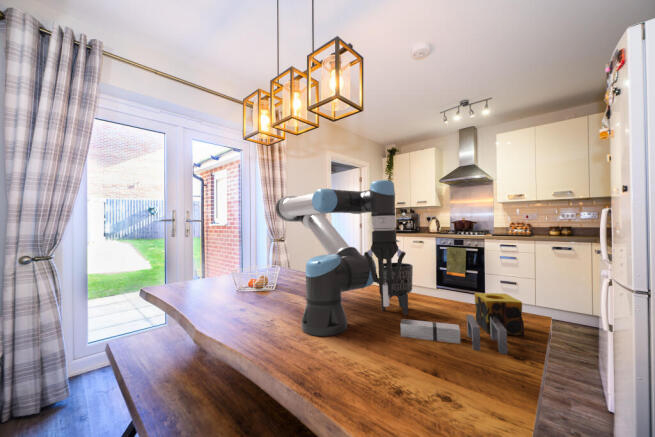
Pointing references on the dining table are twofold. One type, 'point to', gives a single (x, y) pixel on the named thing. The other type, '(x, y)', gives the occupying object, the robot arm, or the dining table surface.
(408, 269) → the planter
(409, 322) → the banded white block
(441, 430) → the dining table surface
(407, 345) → the dining table surface
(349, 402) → the dining table surface
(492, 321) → the collar
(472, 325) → the collar
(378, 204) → the robot arm
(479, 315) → the candle
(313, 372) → the dining table surface
